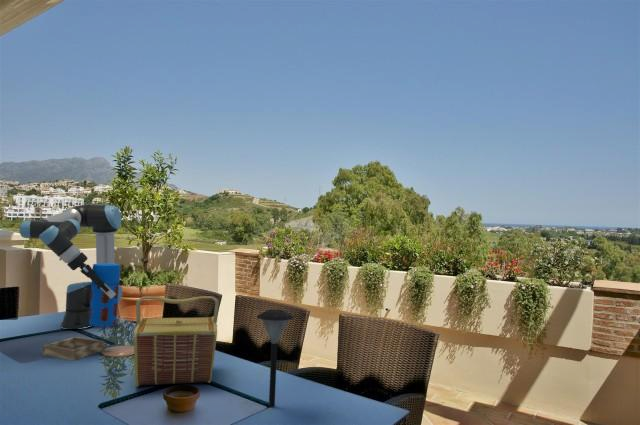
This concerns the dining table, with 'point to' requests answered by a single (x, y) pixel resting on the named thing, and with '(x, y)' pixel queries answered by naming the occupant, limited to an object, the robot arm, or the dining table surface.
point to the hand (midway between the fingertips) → (112, 294)
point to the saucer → (118, 351)
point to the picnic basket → (174, 347)
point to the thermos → (104, 295)
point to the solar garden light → (274, 341)
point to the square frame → (63, 351)
